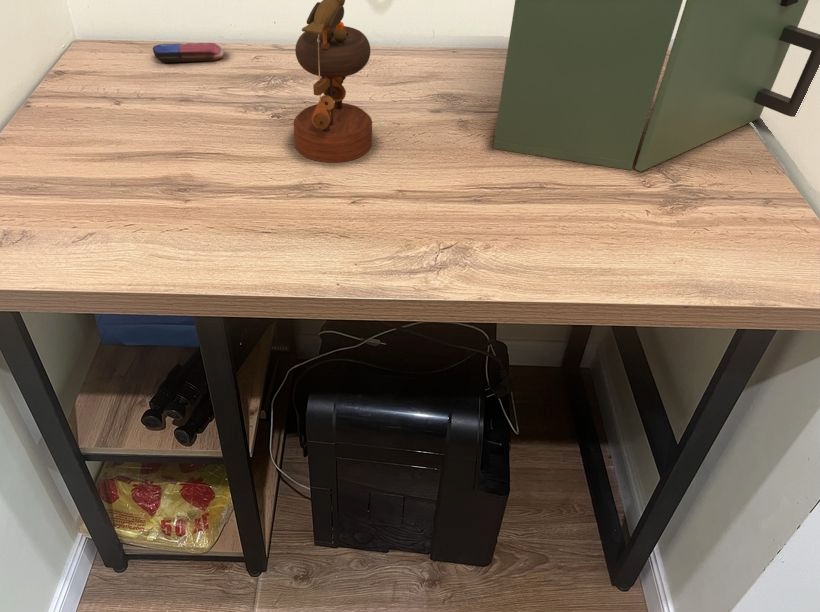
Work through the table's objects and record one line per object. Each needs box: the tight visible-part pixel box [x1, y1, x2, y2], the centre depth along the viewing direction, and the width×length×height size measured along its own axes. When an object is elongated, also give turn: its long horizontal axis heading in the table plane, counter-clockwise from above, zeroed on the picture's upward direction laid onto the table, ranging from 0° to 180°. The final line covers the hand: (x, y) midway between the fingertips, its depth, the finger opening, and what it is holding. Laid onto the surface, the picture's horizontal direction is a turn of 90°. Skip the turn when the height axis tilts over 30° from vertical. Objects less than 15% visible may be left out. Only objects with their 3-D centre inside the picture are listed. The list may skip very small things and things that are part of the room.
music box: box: [293, 0, 373, 163], centre depth 91 cm, size 15×11×20 cm
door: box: [634, 0, 820, 173], centre depth 87 cm, size 7×26×24 cm, turn 125°
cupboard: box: [492, 0, 684, 171], centre depth 95 cm, size 18×26×24 cm
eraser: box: [152, 42, 225, 63], centre depth 117 cm, size 11×4×2 cm, turn 99°
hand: (782, 1), depth 89 cm, fingers closed on door
